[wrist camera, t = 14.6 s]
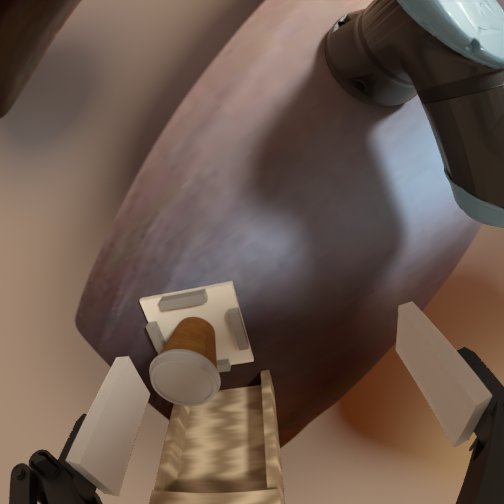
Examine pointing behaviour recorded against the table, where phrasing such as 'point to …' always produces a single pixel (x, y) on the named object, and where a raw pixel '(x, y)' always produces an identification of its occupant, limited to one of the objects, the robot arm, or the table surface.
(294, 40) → the table surface
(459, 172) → the robot arm
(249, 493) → the upright plywood slab
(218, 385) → the disposable coffee cup
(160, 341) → the seat plate
